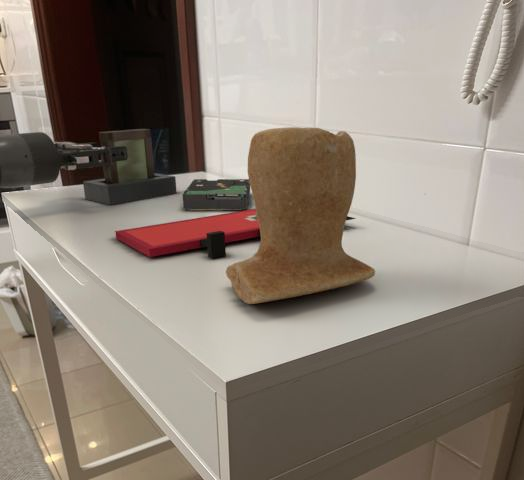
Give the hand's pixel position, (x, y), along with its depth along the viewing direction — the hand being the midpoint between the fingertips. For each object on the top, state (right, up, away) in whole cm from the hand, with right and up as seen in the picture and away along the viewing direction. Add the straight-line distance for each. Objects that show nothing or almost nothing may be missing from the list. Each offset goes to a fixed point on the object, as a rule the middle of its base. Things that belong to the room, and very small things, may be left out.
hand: (111, 150), depth 95 cm
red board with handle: (+23, -19, -20) cm, 36 cm away
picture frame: (+2, -6, +5) cm, 9 cm away
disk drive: (+18, -9, 0) cm, 20 cm away
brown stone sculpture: (+29, -28, -39) cm, 56 cm away
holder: (+2, -6, +5) cm, 8 cm away
